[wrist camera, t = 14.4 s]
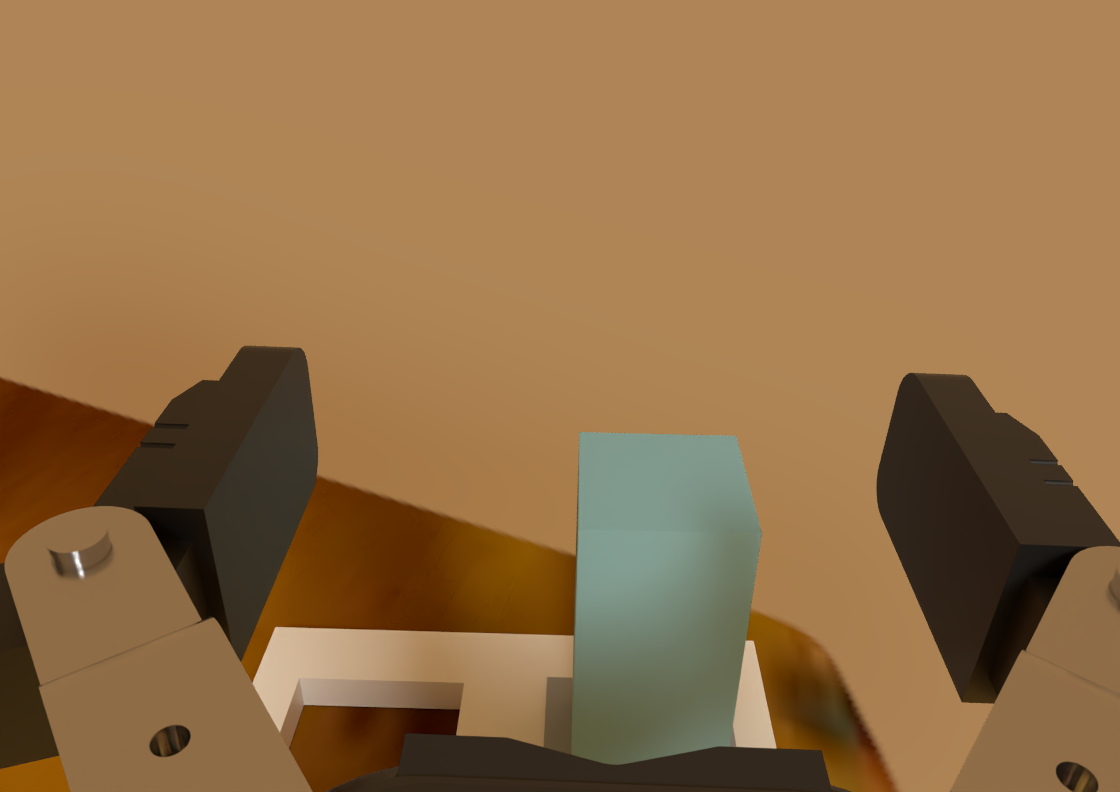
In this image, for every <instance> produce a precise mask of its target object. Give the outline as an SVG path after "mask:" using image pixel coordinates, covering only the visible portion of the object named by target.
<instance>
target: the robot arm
mask: <svg viewBox="0 0 1120 792" xmlns="http://www.w3.org/2000/svg"><path fill="white" fill-rule="evenodd" d="M140 443H141V446H140V447H137V448H136V449H135V450H134V452H133V453H132V454H131V456H130V457H129V458H128V460H127V461H126V463H125V464H124V465H123V467H122V468H121V469H120V471H119V472H118V473H117V475H116V476H115V477H114V479H113V480H112V481H111V483H110V484H109V486H108V487H107V488H106V490H105V491H104V492H103V494H102V495H101V496H100V498H99V499H98V500H97V502H96V503H95V504H94V506H93V507H88V508H82V509H77V510H73V511H70V512H66V513H63V514H60V515H58V516H55V517H53V518H50V519H48V520H46V521H44V522H42V523H40V524H39V525H37V526H35V527H34V528H32V529H31V530H29V531H28V532H27V533H25V534H24V535H23V536H22V537H21V538H20V539H18V540H17V541H16V542H15V544H14V545H13V546H12V548H11V549H10V550H9V552H8V554H7V557H6V560H5V563H2V564H0V769H1V768H6V767H10V766H15V765H19V764H24V763H28V762H32V761H37V760H41V759H46V758H50V757H54V756H59V755H60V758H61V762H62V765H63V768H64V771H65V775H66V778H67V781H68V784H69V787H70V791H71V792H312V790H311V788H310V786H309V784H308V783H307V781H306V779H305V777H304V775H303V774H302V772H301V770H300V768H299V766H298V765H297V763H296V761H295V759H294V757H293V756H292V754H291V752H290V750H289V748H288V747H287V745H286V743H285V741H284V739H283V738H282V736H281V734H280V732H279V730H278V729H277V727H276V725H275V723H274V721H273V720H272V718H271V716H270V714H269V712H268V711H267V709H266V707H265V705H264V703H263V702H262V700H261V698H260V696H259V694H258V693H257V691H256V689H255V687H254V685H253V684H252V682H251V680H250V678H249V676H248V675H247V673H246V671H245V669H244V667H243V666H242V664H241V660H242V658H243V656H244V653H245V651H246V648H247V646H248V644H249V641H250V639H251V637H252V634H253V632H254V629H255V627H256V625H257V622H258V620H259V617H260V615H261V613H262V610H263V608H264V606H265V603H266V601H267V598H268V596H269V594H270V591H271V589H272V587H273V584H274V582H275V579H276V577H277V575H278V572H279V570H280V568H281V565H282V563H283V560H284V558H285V556H286V553H287V551H288V549H289V546H290V544H291V541H292V539H293V537H294V534H295V532H296V530H297V527H298V525H299V522H300V520H301V518H302V515H303V513H304V510H305V508H306V506H307V503H308V501H309V499H310V496H311V494H312V491H313V488H314V485H315V480H316V475H317V466H318V446H317V437H316V429H315V421H314V412H313V405H312V397H311V388H310V380H309V372H308V365H307V360H306V356H305V353H304V352H303V350H302V349H301V348H291V347H266V346H244V347H242V348H241V349H240V351H239V352H238V353H237V355H236V357H235V358H234V359H233V361H232V362H231V364H230V365H229V367H228V368H227V370H226V371H225V373H224V374H223V376H222V377H221V379H220V380H219V381H211V380H210V381H208V380H202V381H201V382H199V383H197V384H196V385H194V386H193V387H191V388H190V389H188V390H186V391H185V392H183V393H182V394H180V395H179V396H177V397H176V398H174V399H172V400H171V402H170V403H169V404H168V406H167V407H166V408H165V410H164V411H163V413H162V414H161V415H160V417H159V418H158V420H157V421H156V422H155V427H154V428H151V429H150V430H149V431H148V433H147V434H146V436H145V437H144V438H143V440H142V441H141V442H140ZM1057 462H1058V460H1057V459H1056V457H1055V456H1054V455H1053V453H1052V452H1051V451H1050V450H1049V448H1048V447H1047V446H1046V444H1045V443H1044V442H1043V440H1042V439H1041V438H1040V436H1039V435H1037V434H1036V433H1035V432H1033V431H1031V430H1030V429H1029V428H1027V427H1026V426H1024V425H1023V424H1022V423H1020V422H1019V421H1017V420H1016V419H1014V418H1013V417H1011V416H1010V415H1008V414H1007V413H995V411H994V410H993V409H992V407H991V406H990V404H989V403H988V402H987V400H986V399H985V398H984V396H983V395H982V393H981V392H980V390H979V389H978V388H977V386H976V385H975V383H974V382H973V381H972V379H971V378H970V377H968V376H966V375H951V374H925V373H909V374H907V375H906V376H905V377H904V378H903V380H902V382H901V384H900V386H899V390H898V393H897V397H896V401H895V405H894V409H893V413H892V417H891V421H890V425H889V429H888V433H887V437H886V441H885V445H884V449H883V453H882V457H881V461H880V464H879V469H878V475H877V502H878V508H879V512H880V514H881V517H882V520H883V522H884V524H885V527H886V529H887V531H888V533H889V536H890V538H891V540H892V543H893V545H894V547H895V550H896V552H897V554H898V556H899V559H900V561H901V563H902V566H903V568H904V570H905V573H906V575H907V577H908V579H909V582H910V584H911V586H912V589H913V591H914V593H915V595H916V598H917V600H918V602H919V605H920V607H921V609H922V612H923V614H924V616H925V618H926V621H927V623H928V625H929V628H930V630H931V632H932V634H933V637H934V639H935V642H936V644H937V646H938V648H939V651H940V653H941V655H942V658H943V660H944V662H945V665H946V667H947V669H948V671H949V674H950V676H951V678H952V681H953V683H954V685H955V688H956V690H957V692H958V694H959V697H960V699H961V701H962V702H969V703H993V704H994V705H993V707H992V709H991V711H990V713H989V715H988V717H987V719H986V721H985V723H984V725H983V727H982V729H981V731H980V733H979V735H978V737H977V739H976V741H975V743H974V745H973V747H972V749H971V751H970V753H969V755H968V757H967V759H966V761H965V763H964V765H963V767H962V769H961V771H960V773H959V775H958V777H957V779H956V781H955V783H954V785H953V787H952V789H951V790H950V792H1120V542H1119V541H1118V539H1117V538H1116V537H1115V536H1114V534H1113V533H1112V531H1111V530H1110V529H1109V527H1108V526H1107V525H1106V524H1105V522H1104V521H1103V519H1102V518H1101V517H1100V516H1099V514H1098V513H1097V512H1096V510H1095V509H1094V508H1093V506H1092V505H1091V504H1090V502H1089V501H1088V500H1087V498H1086V497H1085V496H1084V494H1083V493H1082V492H1081V490H1080V489H1079V488H1078V486H1073V480H1072V479H1071V477H1070V476H1069V475H1068V473H1067V472H1066V471H1065V469H1064V468H1063V467H1062V466H1061V465H1058V464H1057ZM326 792H850V791H848V790H845V789H842V788H839V787H835V786H832V785H830V782H829V778H828V774H827V770H826V766H825V762H824V758H823V755H822V751H821V750H800V749H775V748H751V747H727V746H717V747H712V748H707V749H702V750H696V751H691V752H686V753H680V754H675V755H670V756H664V757H659V758H654V759H649V760H643V761H638V762H633V763H627V764H620V765H612V764H605V763H601V762H597V761H593V760H590V759H586V758H582V757H578V756H575V755H571V754H567V753H563V752H560V751H556V750H552V749H549V748H545V747H541V746H537V745H534V744H530V743H526V742H522V741H519V740H515V739H511V738H508V737H484V736H459V735H435V734H411V733H405V738H404V743H403V748H402V753H401V758H400V763H399V766H398V767H393V768H388V769H384V770H380V771H377V772H373V773H370V774H367V775H363V776H360V777H357V778H355V779H352V780H350V781H348V782H345V783H343V784H340V785H338V786H336V787H333V788H332V789H330V790H328V791H326Z"/></svg>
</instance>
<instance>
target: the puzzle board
mask: <svg viewBox="0 0 1120 792" xmlns="http://www.w3.org/2000/svg"><path fill="white" fill-rule="evenodd" d="M573 643H574V636H567V635H532V634H498V633H463V632H429V631H394V630H360V629H325V628H291V627H275V630H274V632H273V635H272V637H271V639H270V642H269V644H268V647H267V649H266V652H265V654H264V656H263V659H262V661H261V664H260V666H259V669H258V671H257V673H256V676H255V678H254V681H253V683H252V684H253V685H254V687H255V689H256V691H257V693H258V694H259V696H260V698H261V700H262V702H263V703H264V705H265V707H266V709H267V711H268V712H269V714H270V716H271V718H272V720H273V721H274V723H275V725H276V727H277V729H278V730H279V732H280V734H281V736H282V738H283V739H284V741H285V743H286V745H287V747H288V748H290V745H291V742H292V739H293V736H294V733H295V730H296V727H297V724H298V721H299V718H300V715H301V712H302V709H303V707H304V705H326V706H359V707H392V708H425V709H458V710H460V713H459V720H458V726H457V733H456V735H459V736H484V737H508V738H511V739H515V740H519V741H522V742H526V743H530V744H534V745H537V746H541V747H545V748H549V749H552V750H556V751H560V752H563V753H567V754H571V729H572V679H573ZM730 747H751V748H775V749H776V744H775V739H774V735H773V730H772V725H771V721H770V716H769V711H768V706H767V702H766V697H765V692H764V688H763V683H762V678H761V673H760V669H759V664H758V659H757V655H756V650H755V645H754V641H746V642H745V649H744V655H743V662H742V669H741V675H740V682H739V688H738V695H737V701H736V708H735V715H734V721H733V728H732V734H731V741H730Z"/></svg>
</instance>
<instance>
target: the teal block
mask: <svg viewBox="0 0 1120 792" xmlns="http://www.w3.org/2000/svg"><path fill="white" fill-rule="evenodd" d="M578 462H579V465H578V499H577V500H578V501H577V534H576V536H577V537H576V570H575V607H574V643H573V679H572V729H571V755H575V756H578V757H582V758H586V759H590V760H593V761H597V762H601V763H605V764H612V765H620V764H627V763H633V762H638V761H643V760H649V759H654V758H659V757H664V756H670V755H675V754H680V753H686V752H691V751H696V750H702V749H707V748H712V747H717V746H727V747H730V741H731V734H732V728H733V721H734V715H735V708H736V701H737V695H738V688H739V682H740V675H741V669H742V662H743V655H744V649H745V642H746V636H747V629H748V622H749V616H750V609H751V603H752V595H753V589H754V582H755V576H756V570H757V563H758V557H759V550H760V543H761V537H762V532H761V528H760V525H759V521H758V517H757V513H756V509H755V506H754V502H753V498H752V495H751V490H750V487H749V483H748V479H747V475H746V472H745V468H744V464H743V460H742V456H741V453H740V449H739V445H738V441H737V437H736V436H716V435H714V436H713V435H673V434H630V433H629V434H628V433H587V432H580V433H579V461H578Z"/></svg>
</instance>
